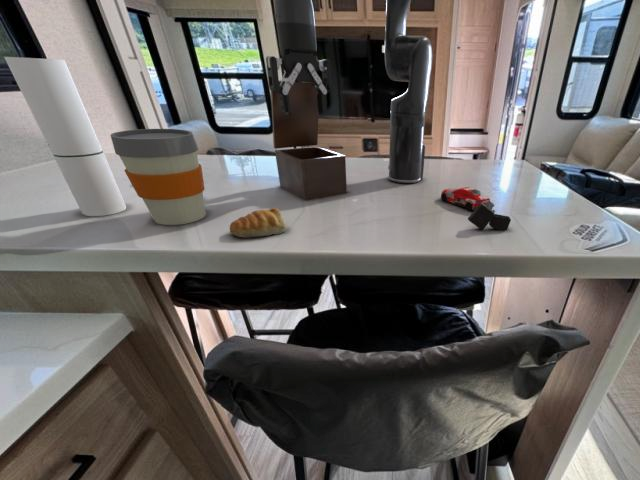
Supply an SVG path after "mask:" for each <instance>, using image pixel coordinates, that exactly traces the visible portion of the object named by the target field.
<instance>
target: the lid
mask: <svg viewBox="0 0 640 480" xmlns="http://www.w3.org/2000/svg"><path fill="white" fill-rule="evenodd" d="M280 84H281V80H279V86H280ZM287 95H289V99H290V107H291V115H286V114H285V113H284V112H283V111H282V109H281V103H280V96H279V94H278V93H277V92H274V91H271V90H270V102H271V103H270V104H271V105H270V106H271V122H272V124H271V125H272V137H273V138H272V140H273V141H272V144H273V148H274V150H278V149H290V148H301V147H313V146H318V141H319V140H318V139H319V115H320V113H319V112H318V102H317V95H318V92H317V91H316V89H315V88H314V86H313V85H312V84H311V83H310V82H294V84H293V85H292V86H291V88H290V90H289V92H288V94H287Z"/></svg>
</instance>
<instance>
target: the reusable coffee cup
mask: <svg viewBox="0 0 640 480" xmlns="http://www.w3.org/2000/svg"><path fill="white" fill-rule="evenodd" d="M110 139H111V142H112V147H113V150H114V153H115V155H117V156H118V157H119V158H120V160H121V162H122V164H123V165H124V168H125V169H124V173H125V175H126V176H127V178H128V180H129V182H130V184H131V186H132V187H133V189H134V191H135V193H136V195H137V196H138V197H139V198H141V199H142V201H143V202H144V204H145V207H146V208H147V209H148V210H147V211H148V212H149V213H150V215H151V217H152V219H153V221H154V223H156V224H158V225H163V226H164V225H165V226H180V225H187V224H191V223H195V222H198V221H200V220H202V219H204V218H205V217H206V215H207V213H206V206H205V199H204V198H205V197H204V191H205V181H204V175H203V167H202V164H200V163H199V156H198V151H199V147H198V145H197V141H196V138H195V137H194V133H193V132H192V131H190V130H187V129H178V128H139V129H129V130H127V129H126V130H121V131H115V132H113V133H111V134H110Z"/></svg>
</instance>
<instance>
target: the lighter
mask: <svg viewBox="0 0 640 480" xmlns="http://www.w3.org/2000/svg"><path fill="white" fill-rule="evenodd" d="M485 205H486V206H485ZM485 205H484V204H482V203H480V204H479V205H478V207H477V208H476V209H475V210H473V212H471V214H470V215H469V216H468V217H467V220H468V221H469V223H471V224H473V226H476V227H477V228H478V229H480V230H481V231H484V229H485V228H486V227H487V226H488V225H489V227H490V228H491V229H493V230H496V231H507V230H508V229H509V226H510V224H511V221H512V219H511V217H510V216H508V215H502V214H498V213H496V210H495V209H493V208H494V207H495V204H494V203H493V202H492V201H490V202H489V201H487V202H486V203H485Z"/></svg>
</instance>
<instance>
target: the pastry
mask: <svg viewBox="0 0 640 480" xmlns="http://www.w3.org/2000/svg"><path fill="white" fill-rule="evenodd" d="M286 229H287V225H286V221H285V219H284V217H283V215H282V213H281V211H280V210H279V209H278V208H277V207H271V208H269V209H259V210H254V211H252V212H251V213H248V214H246V215H245V216H240V217H239V218H238V219H235V220H233V221H232V222H231V223H230V225H229V233H230V234H231V235H233V236H236V237H239V238H243V239H244V238H245V239H246V238H247V239H250V238H259V237H268V236H271V235H280V234H282V233H284V232H286Z"/></svg>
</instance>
